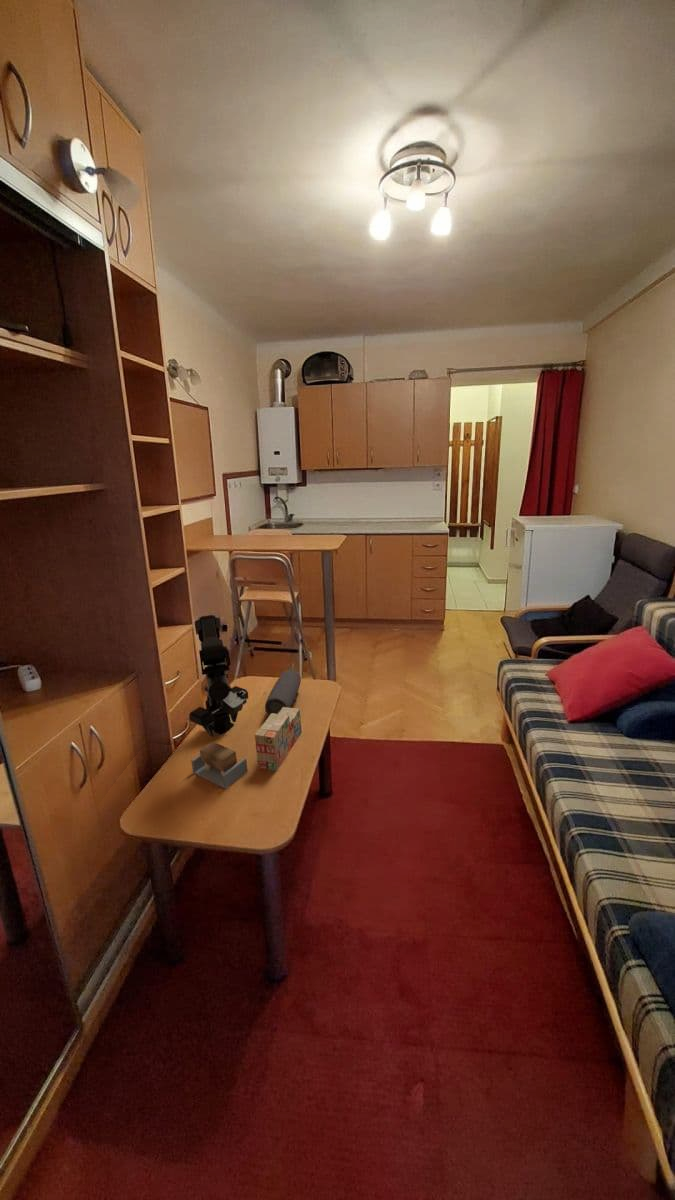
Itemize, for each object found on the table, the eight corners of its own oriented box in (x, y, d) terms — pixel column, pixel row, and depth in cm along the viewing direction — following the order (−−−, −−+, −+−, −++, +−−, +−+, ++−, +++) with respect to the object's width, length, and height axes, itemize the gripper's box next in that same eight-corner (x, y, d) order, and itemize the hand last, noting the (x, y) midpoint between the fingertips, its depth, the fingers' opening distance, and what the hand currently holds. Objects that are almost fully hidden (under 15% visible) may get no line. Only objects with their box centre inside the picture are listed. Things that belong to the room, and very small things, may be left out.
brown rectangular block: (201, 761, 140) (199, 749, 139) (213, 752, 144) (212, 741, 143) (224, 772, 135) (223, 760, 134) (237, 762, 139) (235, 751, 138)
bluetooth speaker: (280, 690, 189) (278, 668, 186) (302, 691, 187) (301, 668, 184) (264, 721, 167) (262, 696, 164) (289, 722, 166) (287, 697, 163)
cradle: (193, 772, 141) (191, 760, 140) (215, 756, 148) (213, 745, 147) (225, 788, 134) (224, 776, 132) (247, 771, 141) (246, 758, 139)
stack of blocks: (285, 730, 161) (282, 698, 158) (302, 732, 159) (299, 700, 156) (258, 769, 142) (254, 734, 138) (276, 772, 140) (273, 736, 136)
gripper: (211, 705, 126) (218, 754, 131) (259, 677, 140) (263, 722, 145) (184, 695, 132) (192, 741, 137) (232, 668, 146) (237, 711, 151)
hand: (223, 729), depth 142 cm, fingers open, 9 cm apart
